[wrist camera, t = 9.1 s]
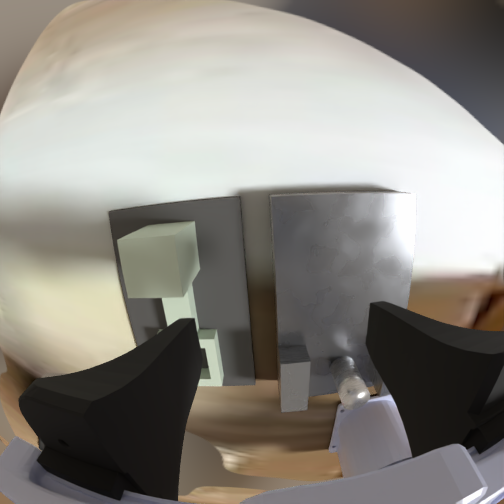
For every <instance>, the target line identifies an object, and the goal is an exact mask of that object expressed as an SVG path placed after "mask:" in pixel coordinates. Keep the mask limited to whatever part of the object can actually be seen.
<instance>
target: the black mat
mask: <svg viewBox="0 0 504 504" xmlns="http://www.w3.org/2000/svg"><path fill="white" fill-rule="evenodd" d="M109 218H110V225H111V232H112V238H113V244H114V250H115V256H116V261H117V266H118V271H119V276H120V281H121V285H122V290H123V294H124V298H125V302H126V306H127V310H128V314H129V318H130V322H131V325H132V329H133V332H134V336H135V339H136V342H137V346H139V345H141V344H142V343H144V342H146V341H147V340H149V339H150V338H152V337H153V336H155V335H156V334H157V333H158V331H159V329H165V328H166V327H167V321H166V316H165V312H164V307H163V302H162V298H128V295H127V291H126V286H125V281H124V277H123V272H122V266H121V261H120V255H119V250H118V244H117V240H118V239H120V238H122V237H124V236H126V235H128V234H131V233H133V232H135V231H137V230H139V229H141V228H143V227H146V226H148V225H155V224H165V223H176V222H187V221H195V229H196V239H197V248H198V256H199V264H200V270H199V272H198V273H197V275H196V277H195V279H194V280H193V282H192V287H193V293H194V300H195V306H196V313H197V319H198V325H199V329H217V334H218V341H219V348H220V354H221V361H222V367H223V373H224V377H223V384H222V386H240V385H255V372H254V361H253V349H252V338H251V326H250V315H249V303H248V291H247V279H246V267H245V255H244V242H243V230H242V217H241V204H240V197H228V198H217V199H206V200H196V201H186V202H177V203H168V204H160V205H152V206H144V207H136V208H129V209H122V210H115V211H110V212H109ZM201 352H202V357H203V361H202V368H209V366H208V361H207V355H206V350H205V348H201Z"/></svg>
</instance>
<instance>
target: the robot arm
mask: <svg viewBox="0 0 504 504" xmlns="http://www.w3.org/2000/svg"><path fill="white" fill-rule="evenodd" d="M365 344H366V347H367V350H368V353H369V355H370V358H371V360H372V362H373V364H374V366H375V368H376V370H377V371H378V373H379V375H380V377H381V378H382V380H383V382H384V384H385V385H386V387H387V389H388V391H389V393H390V394H391V395H387V396H383V397H379V396H374V397H370V398H369V400H368V402H367V403H366V404H365V405H363V406H362V407H360V408H358V409H354V410H347V409H345V408H344V407H343V405H342V403H341V404H339V405H338V408H337V413H336V418H335V423H334V428H333V432H332V437H331V441H330V445H329V452H330V453H333V452H337V453H338V457H339V461H340V465H341V469H342V473H343V477H344V478H343V479H338V480H333V481H328V482H321V483H315V484H309V485H300V486H295V487H289V488H284V489H278V490H271V491H266V492H263V493H261V494H258V495H256V496H253V497H250V498H247V499H245V500H244V501H242V502H240V503H239V504H496V503H498V502H499V501H500V500H502V499H503V498H504V332H503V331H482V330H475V329H468V328H462V327H458V326H454V325H450V324H446V323H442V322H439V321H436V320H433V319H430V318H428V317H425V316H422V315H420V314H417V313H415V312H412V311H410V310H407V309H405V308H402V307H400V306H397V305H394V304H392V303H389V302H385V301H379V302H372V303H370V308H369V318H368V327H367V335H366V342H365ZM202 361H203V357H202V352H201V347H200V342H199V338H198V333H197V328H196V322H195V318H180V319H178V320H176V321H175V322H173V323H172V324H170V325H169V326H167V327H166V328H165V329H163V330H162V331H160V332H159V333H158V334H156V335H155V336H153V337H152V338H150V339H149V340H147V341H146V342H144V343H142V344H141V345H139V346H138V347H136V348H134V349H133V350H131V351H129V352H127V353H126V354H124V355H122V356H120V357H117V358H115V359H113V360H111V361H109V362H106V363H103V364H101V365H98V366H95V367H92V368H90V369H86V370H83V371H79V372H75V373H71V374H66V375H61V376H53V377H46V378H37V379H36V380H35V381H34V382H33V383H32V384H31V385H30V386H29V387H28V388H27V389H26V390H25V391H24V393H23V394H22V395H21V396H20V398H19V407H20V410H21V412H22V415H23V416H24V418H25V419H26V421H27V422H28V424H29V425H30V427H31V428H32V429H33V431H34V432H35V433H36V435H37V436H38V437H39V439H40V440H41V441H42V442H43V444H44V445H45V448H44V449H43V451H42V452H41V451H40V450H39V449H38V448H37V447H35V446H34V445H32V444H30V443H28V442H26V441H24V440H23V439H21V438H19V437H17V436H15V437H14V438H13V439H12V441H11V442H10V444H9V445H8V446H7V448H6V449H5V451H4V452H3V453H2V455H1V456H0V491H1V492H2V493H3V494H4V495H5V496H6V497H8V498H9V499H10V500H11V501H12V502H14V503H15V504H195V503H186V502H179V501H178V485H179V473H180V462H181V454H182V446H183V440H184V433H185V427H186V423H187V419H188V416H189V413H190V409H191V406H192V403H193V400H194V396H195V393H196V390H197V387H198V383H199V380H200V375H201V369H202Z"/></svg>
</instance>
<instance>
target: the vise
mask: <svg viewBox="0 0 504 504" xmlns="http://www.w3.org/2000/svg"><path fill="white" fill-rule="evenodd" d="M269 201H270V217H271V234H272V252H273V271H274V292H275V315H276V341H277V372H278V388H279V398H280V405H281V413H282V412H293V411H303V410H307V407H308V397H310V396H318V395H325V394H332V393H338V394H339V397H340V399H341V402H342V405H343V407H344V408H345V409H347V410H354V409H358V408H360V407H362V406H363V405H365V404H366V403H367V402H368V400H369V398H370V393H369V391H368V389H367V387H371V386H374V388H375V390H376V392H377V394H378V396H379V397H383V396H387V395H391V394H390V393H389V391H388V389H387V387H386V385H385V384H384V382H383V380H382V378H381V377H380V375H379V373H378V371H377V370H376V368H375V366H374V364H373V362H372V360H371V358H370V355H369V353H368V350H367V347H366V344H365V342H366V335H367V327H368V318H369V308H370V303H372V302H379V301H385V302H389V303H392V304H394V305H397V306H400V307H402V308H405V309H407V305H408V299H409V292H410V284H411V276H412V267H413V256H414V242H415V222H416V194H414V193H406V192H395V191H352V192H312V193H289V194H270V195H269Z"/></svg>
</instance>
